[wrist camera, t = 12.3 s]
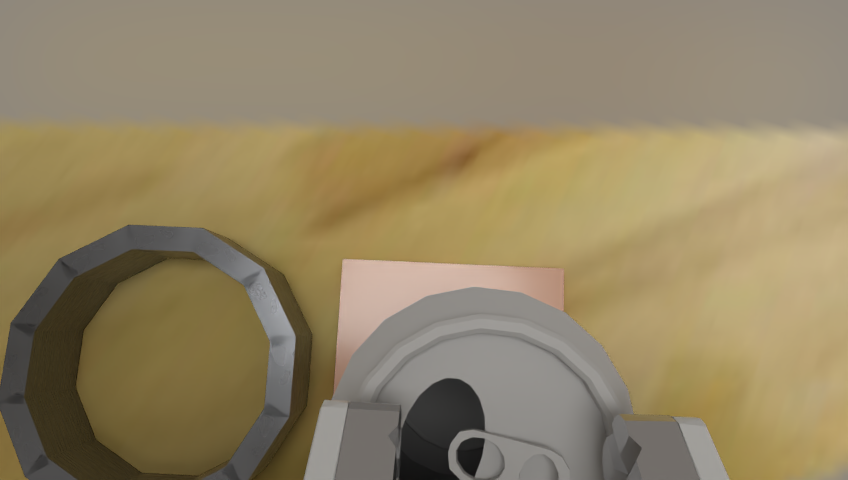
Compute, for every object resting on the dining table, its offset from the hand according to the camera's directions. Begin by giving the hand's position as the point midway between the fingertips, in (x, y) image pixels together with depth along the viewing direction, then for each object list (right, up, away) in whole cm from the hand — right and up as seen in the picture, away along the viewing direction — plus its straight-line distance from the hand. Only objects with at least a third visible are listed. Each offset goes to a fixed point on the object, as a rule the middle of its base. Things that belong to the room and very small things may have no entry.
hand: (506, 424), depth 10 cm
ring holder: (-13, -2, +13) cm, 18 cm away
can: (0, -2, +13) cm, 13 cm away
